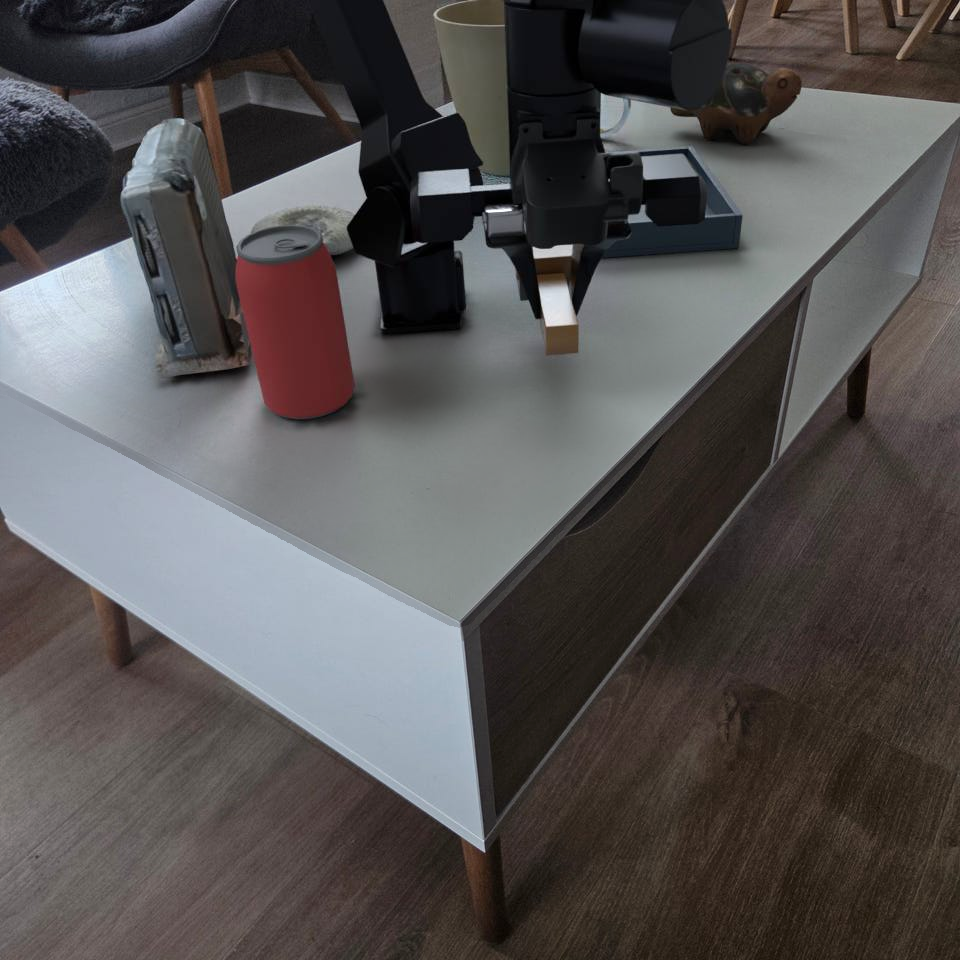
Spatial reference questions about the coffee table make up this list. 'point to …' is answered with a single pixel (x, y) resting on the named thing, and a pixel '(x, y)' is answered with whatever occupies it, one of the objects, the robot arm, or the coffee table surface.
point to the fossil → (315, 224)
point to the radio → (185, 252)
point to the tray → (707, 235)
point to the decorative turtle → (746, 101)
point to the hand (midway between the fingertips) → (555, 315)
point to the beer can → (294, 321)
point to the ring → (625, 115)
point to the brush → (555, 299)
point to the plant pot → (478, 75)
